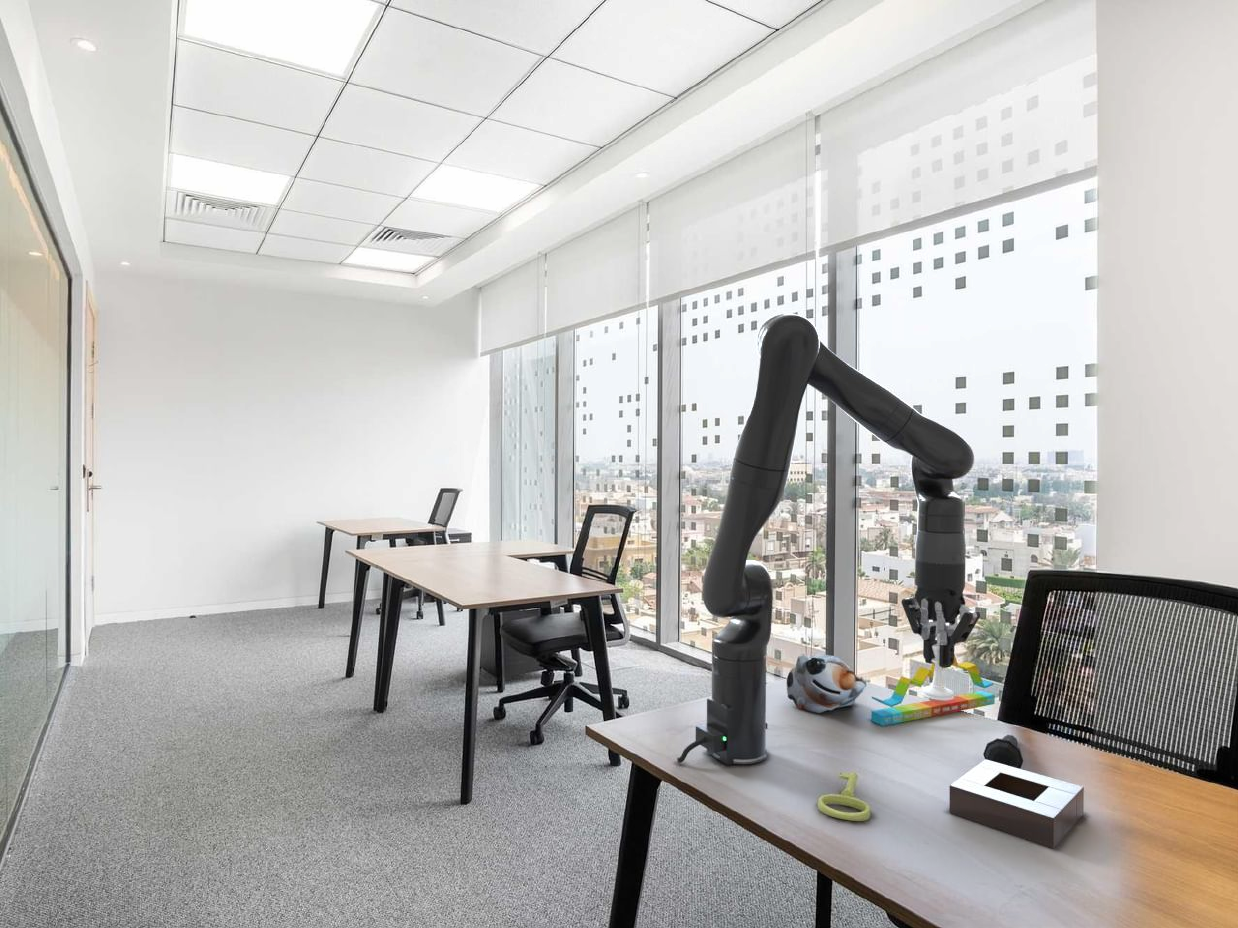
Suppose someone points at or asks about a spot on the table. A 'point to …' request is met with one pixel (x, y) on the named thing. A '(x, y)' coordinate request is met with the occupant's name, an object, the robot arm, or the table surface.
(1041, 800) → the holder
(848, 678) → the lucky cat figurine
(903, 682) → the chart
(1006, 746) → the microphone
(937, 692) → the chess piece
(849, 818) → the key
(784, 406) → the robot arm
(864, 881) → the table surface
